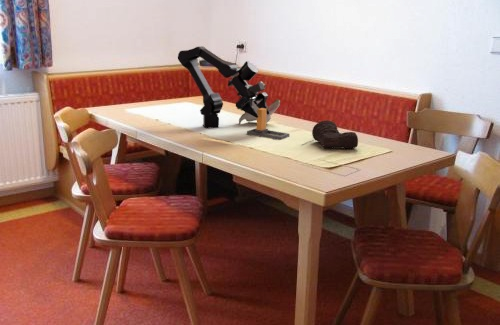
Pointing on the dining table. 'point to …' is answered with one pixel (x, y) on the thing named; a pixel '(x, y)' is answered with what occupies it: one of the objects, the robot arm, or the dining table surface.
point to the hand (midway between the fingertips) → (263, 115)
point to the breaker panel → (283, 135)
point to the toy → (249, 117)
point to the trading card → (336, 173)
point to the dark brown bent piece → (333, 136)
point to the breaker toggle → (261, 121)
